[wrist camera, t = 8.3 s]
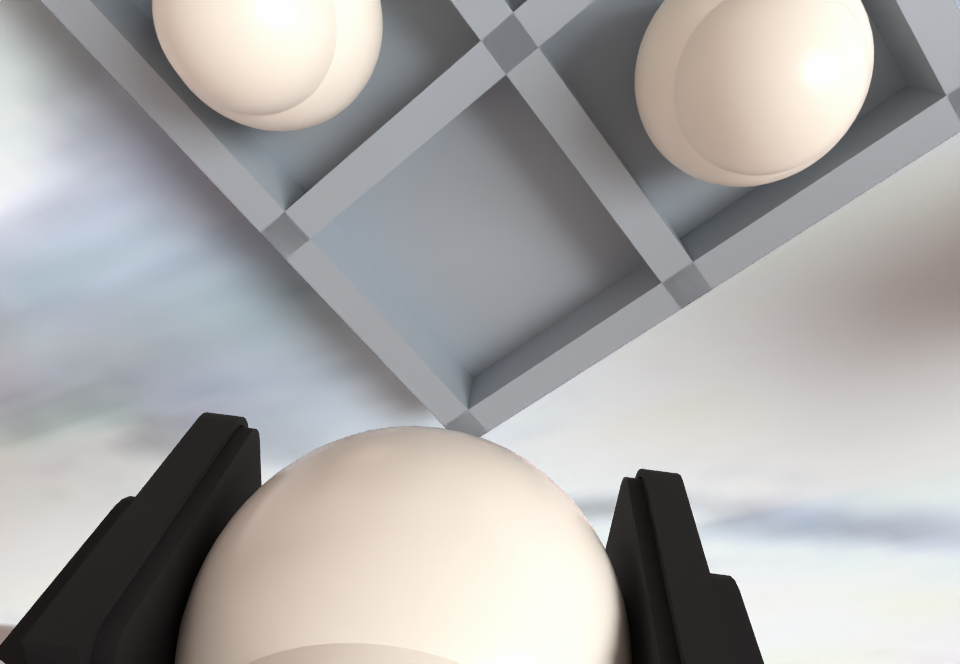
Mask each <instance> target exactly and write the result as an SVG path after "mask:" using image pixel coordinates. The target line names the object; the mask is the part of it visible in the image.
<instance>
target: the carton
mask: <svg viewBox="0 0 960 664" xmlns="http://www.w3.org/2000/svg"><path fill="white" fill-rule="evenodd" d="M40 1H41V2H42V3H43V4H44V5H45V6H46V7H47V8H48V9H49V10H50V11H51V12H52V13H53V14H54V15H55V17H56V18H57V19H58V20H59V21H60V22H61V23H62V24H63V25H64V26H65V27H66V28H67V29H68V30H69V31H70V32H71V33H72V34H73V36H74V37H75V38H76V39H77V40H78V41H79V42H80V43H81V44H82V45H83V46H84V47H85V48H86V49H87V50H88V51H89V52H90V53H91V55H92V56H93V57H94V58H95V59H96V60H97V61H98V62H99V63H100V64H101V65H102V66H103V67H104V68H105V69H106V70H107V71H108V72H109V74H110V75H111V76H112V77H113V78H114V79H115V80H116V81H117V82H118V83H119V84H120V85H121V86H122V87H123V88H124V89H125V90H126V91H127V93H128V94H129V95H130V96H131V97H132V98H133V99H134V100H135V101H136V102H137V103H138V104H139V105H140V106H141V107H142V108H143V109H144V110H145V112H146V113H147V114H148V115H149V116H150V117H151V118H152V119H153V120H154V121H155V122H156V123H157V124H158V125H159V126H160V127H161V128H162V129H163V131H164V132H165V133H166V134H167V135H168V136H169V137H170V138H171V139H172V140H173V141H174V142H175V143H176V144H177V145H178V146H179V147H180V148H181V150H182V151H183V152H184V153H185V154H186V155H187V156H188V157H189V158H190V159H191V160H192V161H193V162H194V163H195V164H196V165H197V166H198V167H199V169H200V170H201V171H202V172H203V173H204V174H205V175H206V176H207V177H208V178H209V179H210V180H211V181H212V182H213V183H214V184H215V185H216V186H217V188H218V189H219V190H220V191H221V192H222V193H223V194H224V195H225V196H226V197H227V198H228V199H229V200H230V201H231V202H232V203H233V204H234V205H235V207H236V208H237V209H238V210H239V211H240V212H241V213H242V214H243V215H244V216H245V217H246V218H247V219H248V220H249V221H250V222H251V223H252V224H253V226H254V227H255V228H256V229H257V230H258V231H259V232H260V233H261V234H262V235H263V236H264V237H265V238H266V239H267V240H268V241H269V242H270V243H271V245H272V246H273V247H274V248H275V249H276V250H277V251H278V252H279V253H280V254H281V255H282V256H283V257H284V258H285V259H286V260H287V261H288V262H289V264H290V265H291V266H292V267H293V268H294V269H295V270H296V271H297V272H298V273H299V274H300V275H301V276H302V277H303V278H304V279H305V280H306V281H307V283H308V284H309V285H310V286H311V287H312V288H313V289H314V290H315V291H316V292H317V293H318V294H319V295H320V296H321V297H322V298H323V299H324V300H325V302H326V303H327V304H328V305H329V306H330V307H331V308H332V309H333V310H334V311H335V312H336V313H337V314H338V315H339V316H340V317H341V318H342V319H343V321H344V322H345V323H346V324H347V325H348V326H349V327H350V328H351V329H352V330H353V331H354V332H355V333H356V334H357V335H358V336H359V337H360V338H361V340H362V341H363V342H364V343H365V344H366V345H367V346H368V347H369V348H370V349H371V350H372V351H373V352H374V353H375V354H376V355H377V356H378V357H379V359H380V360H381V361H382V362H383V363H384V364H385V365H386V366H387V367H388V368H389V369H390V370H391V371H392V372H393V373H394V374H395V375H396V376H397V378H398V379H399V380H400V381H401V382H402V383H403V384H404V385H405V386H406V387H407V388H408V389H409V390H410V391H411V392H412V393H413V394H414V395H415V397H416V398H417V399H418V400H419V401H420V402H421V403H422V404H423V405H424V406H425V407H426V408H427V409H428V410H429V411H430V412H431V413H432V414H433V416H434V417H435V418H436V419H437V420H438V421H439V422H440V423H441V424H442V425H443V426H444V427H445V428H446V429H448V430H453V431H459V432H463V433H466V434H469V435H473V436H476V437H481V436H482V435H484V434H485V433H487V432H489V431H490V430H492V429H493V428H495V427H496V426H498V425H500V424H501V423H503V422H504V421H506V420H507V419H509V418H511V417H512V416H514V415H515V414H517V413H518V412H520V411H522V410H523V409H525V408H526V407H528V406H529V405H531V404H533V403H534V402H536V401H537V400H539V399H540V398H542V397H544V396H545V395H547V394H548V393H550V392H551V391H553V390H555V389H556V388H558V387H559V386H561V385H562V384H564V383H566V382H567V381H569V380H570V379H572V378H573V377H575V376H577V375H578V374H580V373H581V372H583V371H584V370H586V369H588V368H589V367H591V366H592V365H594V364H595V363H597V362H599V361H600V360H602V359H603V358H605V357H606V356H608V355H610V354H611V353H613V352H614V351H616V350H617V349H619V348H621V347H622V346H624V345H625V344H627V343H628V342H630V341H632V340H633V339H635V338H636V337H638V336H639V335H641V334H643V333H644V332H646V331H647V330H649V329H650V328H652V327H654V326H655V325H657V324H658V323H660V322H661V321H663V320H665V319H666V318H668V317H669V316H671V315H672V314H674V313H676V312H677V311H679V310H680V309H682V308H683V307H685V306H687V305H688V304H690V303H691V302H693V301H694V300H696V299H698V298H699V297H701V296H702V295H704V294H705V293H707V292H709V291H710V290H712V289H713V288H715V287H716V286H718V285H720V284H721V283H723V282H724V281H726V280H727V279H729V278H731V277H732V276H734V275H735V274H737V273H738V272H740V271H742V270H743V269H745V268H746V267H748V266H749V265H751V264H753V263H754V262H756V261H757V260H759V259H760V258H762V257H764V256H765V255H767V254H768V253H770V252H771V251H773V250H775V249H776V248H778V247H779V246H781V245H782V244H784V243H786V242H787V241H789V240H790V239H792V238H793V237H795V236H797V235H798V234H800V233H801V232H803V231H805V230H806V229H808V228H809V227H811V226H812V225H814V224H816V223H817V222H819V221H820V220H822V219H823V218H825V217H827V216H828V215H830V214H831V213H833V212H834V211H836V210H838V209H839V208H841V207H842V206H844V205H845V204H847V203H849V202H850V201H852V200H853V199H855V198H856V197H858V196H860V195H861V194H863V193H864V192H866V191H867V190H869V189H871V188H872V187H874V186H875V185H877V184H878V183H880V182H882V181H883V180H885V179H886V178H888V177H889V176H891V175H893V174H894V173H896V172H897V171H899V170H900V169H902V168H904V167H905V166H907V165H908V164H910V163H911V162H913V161H915V160H916V159H918V158H919V157H921V156H922V155H924V154H926V153H927V152H929V151H930V150H932V149H933V148H935V147H937V146H938V145H940V144H941V143H943V142H944V141H946V140H948V139H949V138H951V137H952V136H954V135H955V134H957V133H959V132H960V11H959V9H958V7H957V5H956V3H955V1H954V0H40Z"/></svg>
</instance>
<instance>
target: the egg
mask: <svg viewBox="0 0 960 664" xmlns="http://www.w3.org/2000/svg"><path fill="white" fill-rule="evenodd" d="M174 664H632V647H631V634H630V628H629V622H628V617H627V612H626V608H625V603H624V599H623V594H622V590H621V587H620V585H619V582H618V579H617V577H616V574H615V571H614V569H613V566H612V564H611V562H610V559H609V557H608V554H607V552H606V550H605V548H604V546H603V544H602V543H601V541H600V539H599V537H598V536H597V534H596V532H595V530H594V529H593V527H592V526H591V524H590V523H589V521H588V520H587V519H586V517H585V516H584V514H583V513H582V512H581V510H580V509H579V508H578V507H577V505H576V504H575V503H574V502H573V500H572V499H571V498H570V497H569V496H568V495H567V494H566V493H565V492H564V491H563V490H562V489H561V488H560V487H559V486H558V485H557V484H556V483H555V482H554V481H552V480H551V479H550V478H549V477H548V476H547V475H546V474H545V473H544V472H542V471H541V470H540V469H538V468H537V467H536V466H534V465H533V464H531V463H530V462H529V461H527V460H526V459H524V458H522V457H521V456H519V455H517V454H515V453H514V452H512V451H510V450H508V449H507V448H504V447H502V446H500V445H497V444H495V443H493V442H490V441H488V440H486V439H483V438H479V437H476V436H473V435H469V434H466V433H463V432H459V431H453V430H448V429H442V428H433V427H419V426H406V427H388V428H381V429H375V430H368V431H365V432H361V433H358V434H354V435H350V436H347V437H344V438H341V439H339V440H336V441H334V442H331V443H329V444H327V445H324V446H322V447H319V448H317V449H315V450H313V451H311V452H309V453H308V454H306V455H304V456H302V457H301V458H299V459H297V460H296V461H294V462H293V463H291V464H290V465H288V466H287V467H285V468H284V469H282V470H281V471H279V472H278V473H277V474H275V475H274V476H273V477H272V478H271V479H269V480H268V481H267V482H266V483H265V484H263V485H262V486H261V487H260V488H259V489H258V490H257V491H256V492H255V493H254V494H253V495H252V496H251V497H250V498H249V499H248V500H247V501H246V502H245V503H244V504H243V505H242V507H241V508H240V509H239V510H238V511H237V512H236V513H235V514H234V516H233V517H232V518H231V519H230V521H229V522H228V524H227V525H226V526H225V528H224V529H223V531H222V532H221V534H220V535H219V536H218V538H217V540H216V541H215V543H214V544H213V546H212V548H211V549H210V551H209V553H208V554H207V556H206V558H205V560H204V562H203V564H202V566H201V568H200V570H199V572H198V575H197V577H196V579H195V581H194V584H193V587H192V589H191V592H190V595H189V597H188V600H187V603H186V607H185V610H184V613H183V617H182V620H181V623H180V628H179V634H178V640H177V646H176V654H175V661H174Z"/></svg>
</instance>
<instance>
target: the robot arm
mask: <svg viewBox="0 0 960 664" xmlns="http://www.w3.org/2000/svg"><path fill="white" fill-rule="evenodd" d="M260 487H261V463H260V438H259V432H258V430H257V429H253V428H248V423H247V421H246V419H245V418H244V417H239V416H231V415H223V414H215V413H208V412H206V413H203V414H202V415H201V416H200V417H199V418H198V419H197V420H196V422H195V423H194V424H193V425H192V427H191V428H190V429H189V430H188V432H187V433H186V434H185V435H184V437H183V438H182V439H181V440H180V442H179V443H178V444H177V445H176V447H175V448H174V449H173V450H172V452H171V453H170V454H169V455H168V457H167V458H166V459H165V461H164V462H163V463H162V464H161V466H160V467H159V468H158V469H157V471H156V472H155V473H154V474H153V476H152V477H151V478H150V479H149V481H148V482H147V483H146V484H145V486H144V487H143V488H142V489H141V491H140V492H139V493H138V494H137V496H136V497H132V496H129V497H126V498H124V499H122V500H121V501H120V502H119V503H118V504H117V505H115V506H114V508H113V509H112V510H111V511H110V512H109V514H108V515H107V516H106V517H105V518H104V520H103V521H102V522H101V523H100V525H99V526H98V527H97V528H96V529H95V531H94V532H93V533H92V534H91V536H90V537H89V538H88V539H87V540H86V542H85V543H84V544H83V545H82V546H81V548H80V549H79V550H78V551H77V553H76V554H75V555H74V556H73V557H72V559H71V560H70V561H69V562H68V564H67V565H66V566H65V567H64V568H63V570H62V571H61V572H60V573H59V574H58V576H57V577H56V578H55V579H54V581H53V582H52V583H51V584H50V585H49V587H48V588H47V589H46V590H45V591H44V593H43V594H42V595H41V596H40V598H39V599H38V600H37V601H36V602H35V604H34V605H33V606H32V607H31V609H30V610H29V611H28V612H27V613H26V615H25V616H24V617H23V618H22V619H21V621H20V622H19V623H18V624H17V626H16V627H15V628H14V629H13V630H12V632H11V633H10V634H9V635H8V637H7V638H6V639H5V640H4V641H3V643H2V644H1V645H0V664H174V661H175V654H176V646H177V640H178V634H179V628H180V623H181V620H182V617H183V613H184V610H185V607H186V603H187V600H188V597H189V595H190V592H191V589H192V587H193V584H194V581H195V579H196V577H197V575H198V572H199V570H200V568H201V566H202V564H203V562H204V560H205V558H206V556H207V554H208V553H209V551H210V549H211V548H212V546H213V544H214V543H215V541H216V540H217V538H218V536H219V535H220V534H221V532H222V531H223V529H224V528H225V526H226V525H227V524H228V522H229V521H230V519H231V518H232V517H233V516H234V514H235V513H236V512H237V511H238V510H239V509H240V508H241V507H242V505H243V504H244V503H245V502H246V501H247V500H248V499H249V498H250V497H251V496H252V495H253V494H254V493H255V492H256V491H257V490H258V489H259V488H260ZM605 550H606V552H607V554H608V557H609V559H610V562H611V564H612V566H613V569H614V571H615V574H616V577H617V579H618V582H619V585H620V587H621V590H622V594H623V599H624V603H625V608H626V612H627V617H628V622H629V628H630V634H631V647H632V664H764V662H763V659H762V656H761V653H760V650H759V647H758V644H757V641H756V638H755V635H754V632H753V629H752V626H751V623H750V620H749V617H748V614H747V611H746V608H745V605H744V602H743V599H742V596H741V593H740V590H739V588H738V586H737V584H736V582H735V580H734V579H733V578H732V577H731V576H727V575H720V574H712V573H710V572H709V568H708V565H707V561H706V558H705V555H704V551H703V548H702V544H701V541H700V538H699V534H698V531H697V527H696V524H695V521H694V517H693V514H692V510H691V507H690V504H689V500H688V497H687V493H686V490H685V487H684V483H683V480H682V478H681V475H679V474H677V473H669V472H662V471H654V470H646V469H640V470H638V472H637V474H636V477H635V478H629V477H624V478H623V480H622V483H621V486H620V491H619V495H618V499H617V503H616V507H615V512H614V516H613V520H612V524H611V528H610V533H609V537H608V541H607V545H606V549H605Z"/></svg>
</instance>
